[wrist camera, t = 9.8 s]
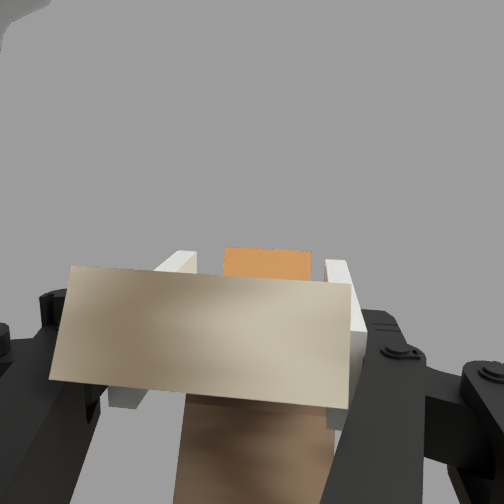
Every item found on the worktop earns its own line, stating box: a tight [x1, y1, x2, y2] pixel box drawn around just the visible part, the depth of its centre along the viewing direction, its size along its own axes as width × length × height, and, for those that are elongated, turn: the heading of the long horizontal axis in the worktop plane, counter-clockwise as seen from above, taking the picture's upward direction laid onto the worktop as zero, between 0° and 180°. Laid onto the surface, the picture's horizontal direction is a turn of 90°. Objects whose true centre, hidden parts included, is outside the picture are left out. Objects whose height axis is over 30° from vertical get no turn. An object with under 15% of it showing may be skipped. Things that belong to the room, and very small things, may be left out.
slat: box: [49, 266, 352, 409], centre depth 17 cm, size 5×21×2 cm, turn 175°
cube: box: [223, 247, 312, 281], centre depth 22 cm, size 4×4×4 cm
